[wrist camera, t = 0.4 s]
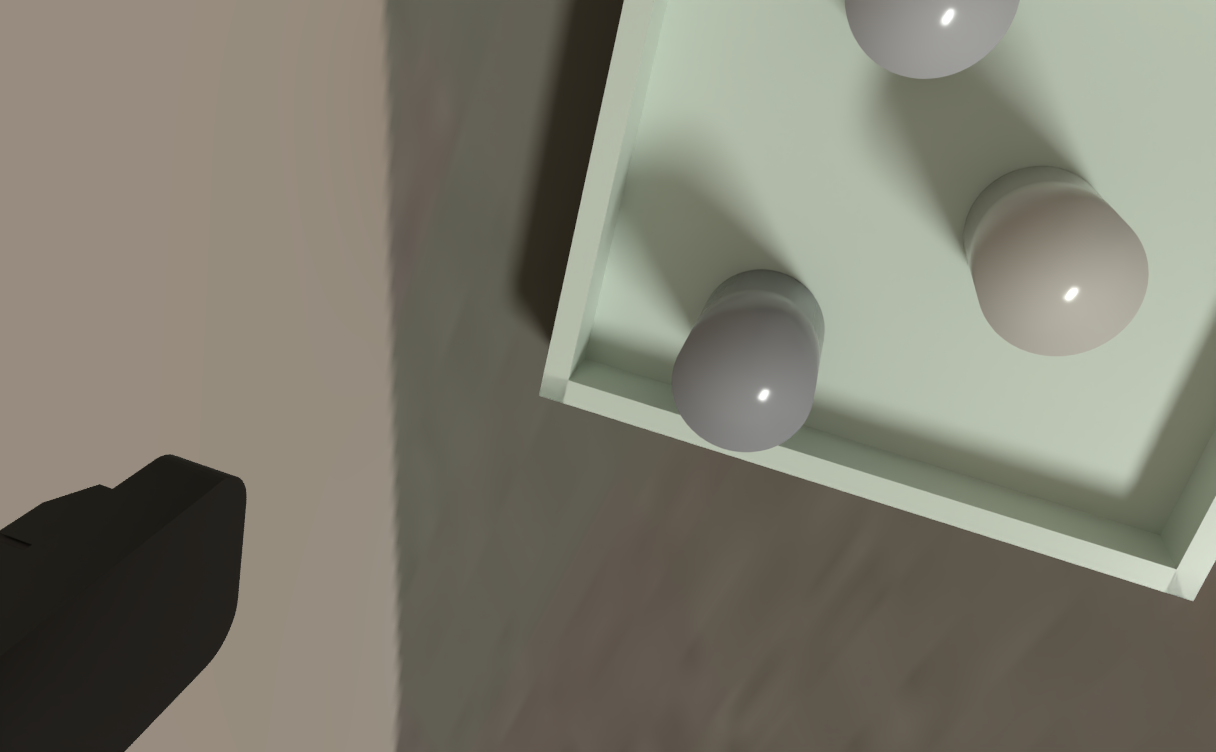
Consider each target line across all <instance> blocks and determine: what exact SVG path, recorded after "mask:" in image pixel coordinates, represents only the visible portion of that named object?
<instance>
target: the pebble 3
mask: <svg viewBox="0 0 1216 752" xmlns="http://www.w3.org/2000/svg"><path fill="white" fill-rule="evenodd" d="M963 243H964V250H965V254H966V257H967V261H968V264H969V268H970V272H971V275H972V279H973V283H974V286H975V290H976V293H977V297H978V301H979V304H980V308H981V310H982V312H983V315H984V317H985V318H986V320H987V322H988V323H989V325H990V326H991V327H992V328H993V330H994V331H995V332H996V333H997V334H998V335H999V336H1001V337H1002V338H1003V339H1004V340H1006V341H1007V342H1008V343H1010V344H1011V345H1013V346H1015V347H1017V348H1019V349H1021V350H1024V351H1027V352H1030V353H1034V354H1038V355H1044V356H1068V355H1075V354H1079V353H1083V352H1086V351H1089V350H1092V349H1094V348H1097V347H1099V346H1101V345H1103V344H1105V343H1106V342H1108V341H1109V340H1111V339H1112V338H1114V337H1115V336H1116V335H1118V334H1119V333H1120V332H1121V331H1122V330H1123V329H1124V328H1125V327H1126V326H1127V325H1128V324H1129V323H1130V322H1131V320H1132V319H1133V318H1134V316H1135V315H1136V314H1137V312H1138V310H1139V308H1140V306H1141V304H1142V302H1143V299H1144V297H1145V294H1146V290H1147V285H1148V276H1149V271H1148V261H1147V257H1146V253H1145V250H1144V248H1143V245H1142V243H1141V241H1140V240H1139V238H1138V236H1137V235H1136V233H1135V232H1134V231H1133V230H1132V228H1131V227H1130V226H1129V225H1128V224H1127V223H1126V222H1125V221H1124V220H1123V219H1122V218H1121V217H1120V216H1119V214H1118V213H1117V212H1116V211H1115V210H1114V209H1113V208H1112V207H1111V206H1110V205H1109V204H1108V203H1107V202H1106V201H1105V200H1104V199H1103V198H1102V197H1101V195H1100V194H1099V193H1098V192H1097V191H1096V190H1095V189H1094V188H1093V187H1092V186H1091V185H1090V184H1089V183H1088V182H1087V181H1085V180H1084V179H1083V178H1081V177H1080V176H1078V175H1076V174H1074V173H1072V172H1070V171H1068V170H1065V169H1062V168H1057V167H1052V166H1031V167H1025V168H1021V169H1017V170H1014V171H1012V172H1009V173H1007V174H1005V175H1003V176H1001V177H999V178H998V179H996V180H995V181H993V182H992V183H991V184H989V185H988V186H987V187H986V188H985V189H984V190H983V191H982V192H981V193H980V194H979V196H978V197H977V198H976V200H975V201H974V203H973V204H972V206H971V208H970V210H969V212H968V215H967V218H966V221H965V225H964V231H963Z"/></svg>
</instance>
